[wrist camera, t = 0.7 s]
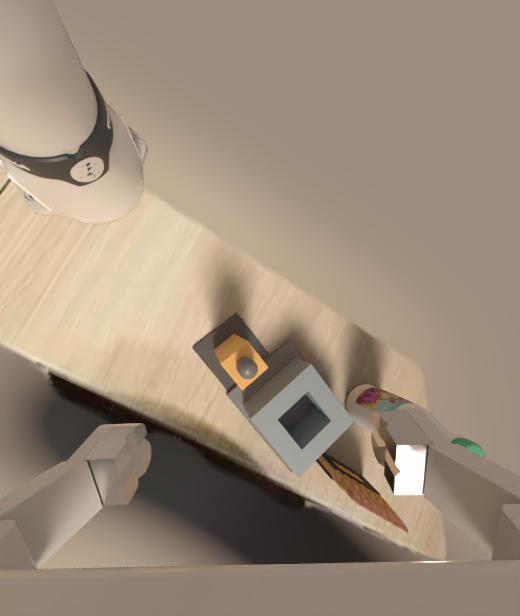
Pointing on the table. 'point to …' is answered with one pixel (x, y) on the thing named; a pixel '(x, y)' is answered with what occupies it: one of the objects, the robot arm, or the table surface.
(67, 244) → the table surface
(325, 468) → the ammunition clip
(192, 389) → the table surface
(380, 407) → the milk bottle
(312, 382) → the housing
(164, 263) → the table surface
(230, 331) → the mat
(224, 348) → the plug
